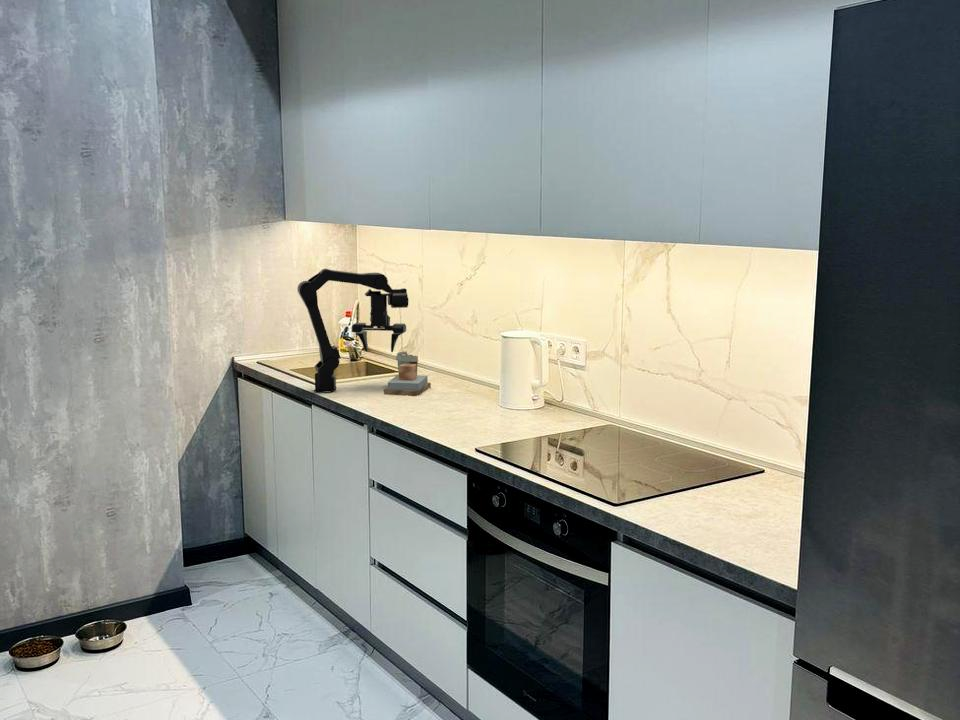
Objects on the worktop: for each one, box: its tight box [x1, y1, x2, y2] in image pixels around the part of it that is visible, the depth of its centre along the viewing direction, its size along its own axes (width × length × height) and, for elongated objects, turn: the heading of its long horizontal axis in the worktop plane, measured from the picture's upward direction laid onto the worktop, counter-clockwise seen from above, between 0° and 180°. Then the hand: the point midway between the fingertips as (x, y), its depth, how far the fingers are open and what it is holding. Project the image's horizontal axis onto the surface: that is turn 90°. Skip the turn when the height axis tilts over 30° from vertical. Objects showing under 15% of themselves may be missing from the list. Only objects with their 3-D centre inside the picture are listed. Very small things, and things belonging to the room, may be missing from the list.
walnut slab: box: [383, 382, 432, 397], centre depth 347 cm, size 12×16×2 cm
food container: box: [395, 351, 419, 374], centre depth 365 cm, size 12×6×10 cm, turn 25°
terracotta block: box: [398, 363, 418, 381], centre depth 346 cm, size 5×5×5 cm
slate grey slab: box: [387, 374, 429, 391], centre depth 346 cm, size 11×15×2 cm
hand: (379, 351), depth 350 cm, fingers open, 9 cm apart
